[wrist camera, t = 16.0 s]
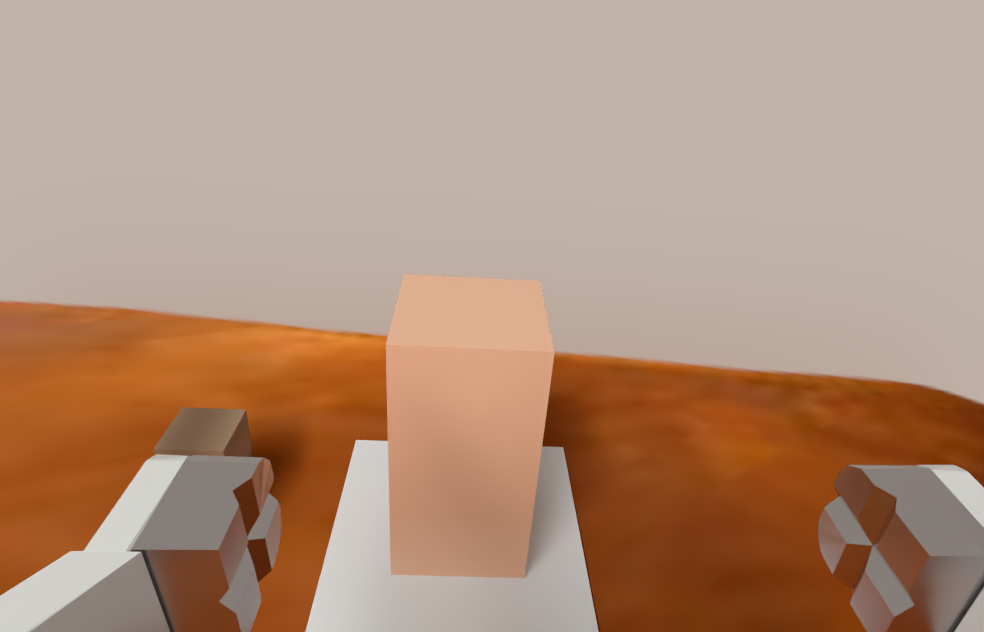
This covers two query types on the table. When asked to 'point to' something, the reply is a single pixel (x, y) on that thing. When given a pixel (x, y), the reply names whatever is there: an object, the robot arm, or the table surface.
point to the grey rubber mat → (450, 599)
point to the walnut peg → (207, 434)
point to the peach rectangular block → (465, 423)
